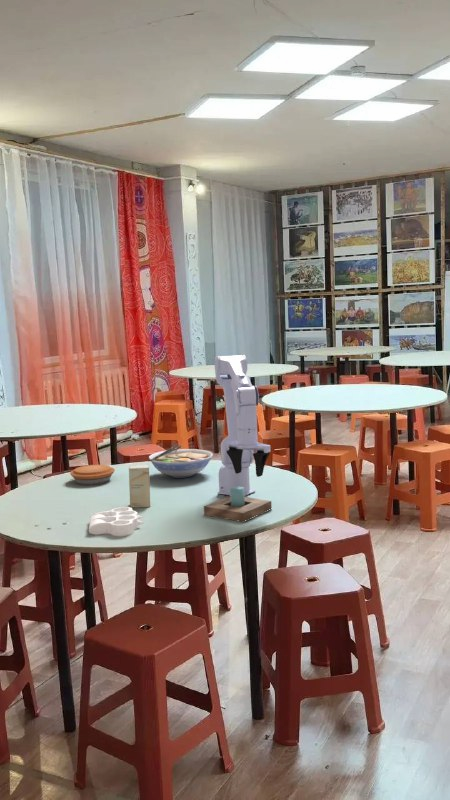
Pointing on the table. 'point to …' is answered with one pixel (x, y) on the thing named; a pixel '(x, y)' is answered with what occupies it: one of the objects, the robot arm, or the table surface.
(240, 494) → the peg
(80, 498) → the table surface
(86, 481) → the pie
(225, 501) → the socket block
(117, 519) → the paw shaped tray
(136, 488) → the skincare box
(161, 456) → the ramen bowl
